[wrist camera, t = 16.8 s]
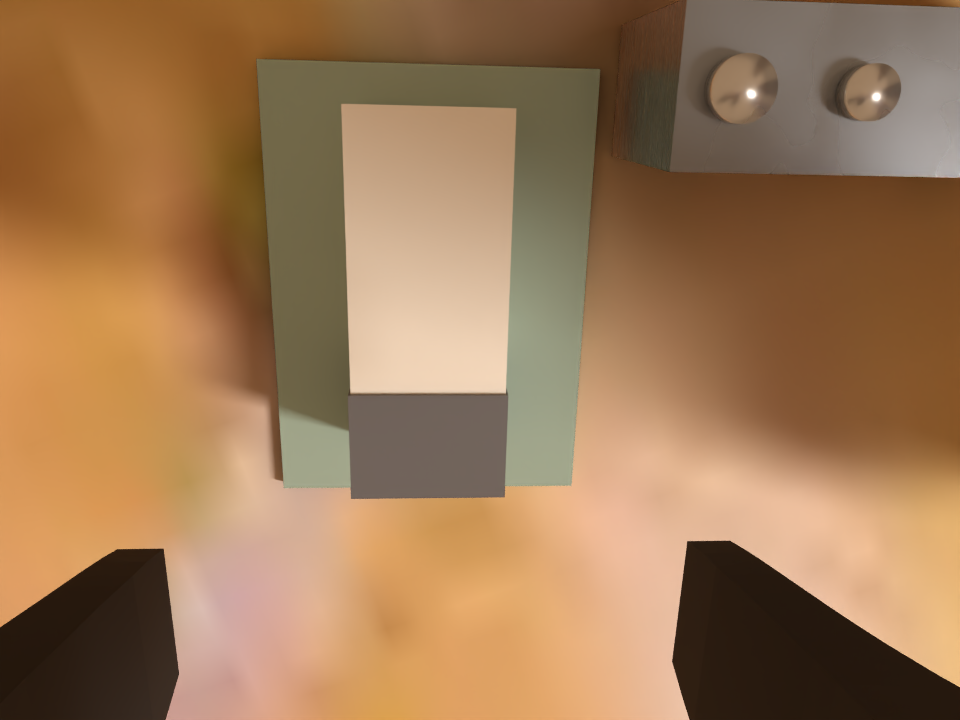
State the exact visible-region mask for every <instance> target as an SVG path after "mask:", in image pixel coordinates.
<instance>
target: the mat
mask: <svg viewBox="0 0 960 720" xmlns="http://www.w3.org/2000/svg"><path fill="white" fill-rule="evenodd" d="M256 62H257V78H258V93H259V109H260V124H261V140H262V155H263V171H264V187H265V202H266V218H267V233H268V249H269V264H270V280H271V296H272V311H273V327H274V342H275V358H276V374H277V389H278V405H279V420H280V436H281V451H282V467H283V483H284V488H349V487H351V480H350V450H349V420H348V393H349V390H350V364H349V332H348V301H347V270H346V238H345V207H344V176H343V144H342V113H341V104H371V105H411V106H450V107H489V108H516V135H515V161H514V188H513V215H512V241H511V268H510V295H509V322H508V348H507V375H506V389H507V392H508V421H507V447H506V473H505V486H571V484H572V470H573V456H574V441H575V427H576V413H577V398H578V384H579V370H580V355H581V341H582V327H583V312H584V298H585V284H586V269H587V255H588V241H589V226H590V212H591V198H592V183H593V169H594V155H595V140H596V126H597V112H598V97H599V83H600V69H583V68H549V67H515V66H481V65H448V64H414V63H380V62H346V61H312V60H278V59H256Z"/></svg>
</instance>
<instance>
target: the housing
mask: <svg viewBox="0 0 960 720" xmlns="http://www.w3.org/2000/svg"><path fill="white" fill-rule="evenodd" d="M612 156H614V157H617V158H621V159H624V160H628V161H632V162H635V163H639V164H643V165H646V166H650V167H654V168H657V169H661V170H664V171H668V172H697V173H747V174H797V175H847V176H896V177H946V178H960V8H958V7H930V6H902V5H875V4H847V3H820V2H792V1H765V0H680V1H678V2H676V3H673V4H671V5H668V6H666V7H664V8H661V9H659V10H656V11H654V12H652V13H649V14H647V15H645V16H642V17H640V18H637V19H635V20H633V21H630V22H628V23H625V24H623V25H622V28H621V41H620V54H619V67H618V80H617V93H616V106H615V119H614V132H613V146H612Z"/></svg>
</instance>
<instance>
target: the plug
mask: <svg viewBox="0 0 960 720" xmlns="http://www.w3.org/2000/svg"><path fill="white" fill-rule="evenodd" d="M341 113H342V144H343V176H344V207H345V238H346V270H347V301H348V332H349V364H350V390H349V393H348V420H349V450H350V480H351V499H380V498H481V497H505V473H506V447H507V421H508V392H507V389H506V375H507V348H508V322H509V295H510V268H511V241H512V215H513V188H514V161H515V135H516V108H489V107H450V106H411V105H371V104H341Z"/></svg>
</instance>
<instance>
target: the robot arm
mask: <svg viewBox="0 0 960 720" xmlns="http://www.w3.org/2000/svg"><path fill="white" fill-rule="evenodd" d="M672 662H673V666H674V669H675V673H676V676H677V680H678V683H679V687H680V690H681V694H682V697H683V700H684V703H685V707H686V710H687V713H688V716H689V719H690V720H960V687H958V686H956V685H955V684H953V683H951V682H949V681H947V680H946V679H944V678H942V677H940V676H939V675H937V674H935V673H934V672H932V671H930V670H929V669H927V668H925V667H924V666H922V665H920V664H919V663H917V662H915V661H914V660H912V659H910V658H909V657H907V656H905V655H904V654H902V653H900V652H899V651H897V650H895V649H894V648H892V647H890V646H889V645H887V644H886V643H884V642H882V641H881V640H879V639H878V638H876V637H875V636H873V635H871V634H870V633H868V632H867V631H865V630H864V629H862V628H861V627H859V626H857V625H856V624H854V623H853V622H851V621H850V620H848V619H847V618H845V617H844V616H842V615H841V614H839V613H838V612H836V611H835V610H833V609H832V608H830V607H829V606H827V605H826V604H824V603H823V602H821V601H820V600H819V599H817V598H816V597H814V596H813V595H811V594H810V593H808V592H807V591H805V590H804V589H802V588H801V587H800V586H798V585H797V584H795V583H794V582H792V581H791V580H789V579H788V578H786V577H785V576H784V575H782V574H781V573H779V572H778V571H776V570H775V569H773V568H772V567H770V566H769V565H767V564H766V563H764V562H763V561H761V560H760V559H759V558H757V557H755V556H754V555H752V554H751V553H749V552H748V551H746V550H745V549H743V548H741V547H740V546H738V545H736V544H735V543H733V542H731V541H687V549H686V557H685V565H684V573H683V581H682V589H681V596H680V604H679V612H678V620H677V628H676V636H675V644H674V652H673V659H672ZM178 675H179V670H178V662H177V654H176V646H175V638H174V629H173V621H172V613H171V605H170V597H169V589H168V581H167V573H166V565H165V557H164V549H117V550H115V551H114V552H112V553H110V554H108V555H107V556H105V557H103V558H102V559H100V560H99V561H97V562H96V563H94V564H93V565H91V566H90V567H88V568H86V569H85V570H84V571H82V572H81V573H79V574H78V575H76V576H75V577H73V578H72V579H70V580H69V581H67V582H66V583H64V584H63V585H62V586H60V587H59V588H57V589H56V590H54V591H53V592H51V593H50V594H49V595H47V596H46V597H44V598H43V599H41V600H40V601H38V602H37V603H35V604H34V605H32V606H31V607H30V608H28V609H27V610H25V611H24V612H22V613H21V614H19V615H18V616H16V617H15V618H13V619H12V620H10V621H9V622H7V623H6V624H5V625H3V626H2V627H0V720H165V719H166V716H167V713H168V710H169V706H170V703H171V699H172V696H173V693H174V689H175V686H176V682H177V679H178Z"/></svg>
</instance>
